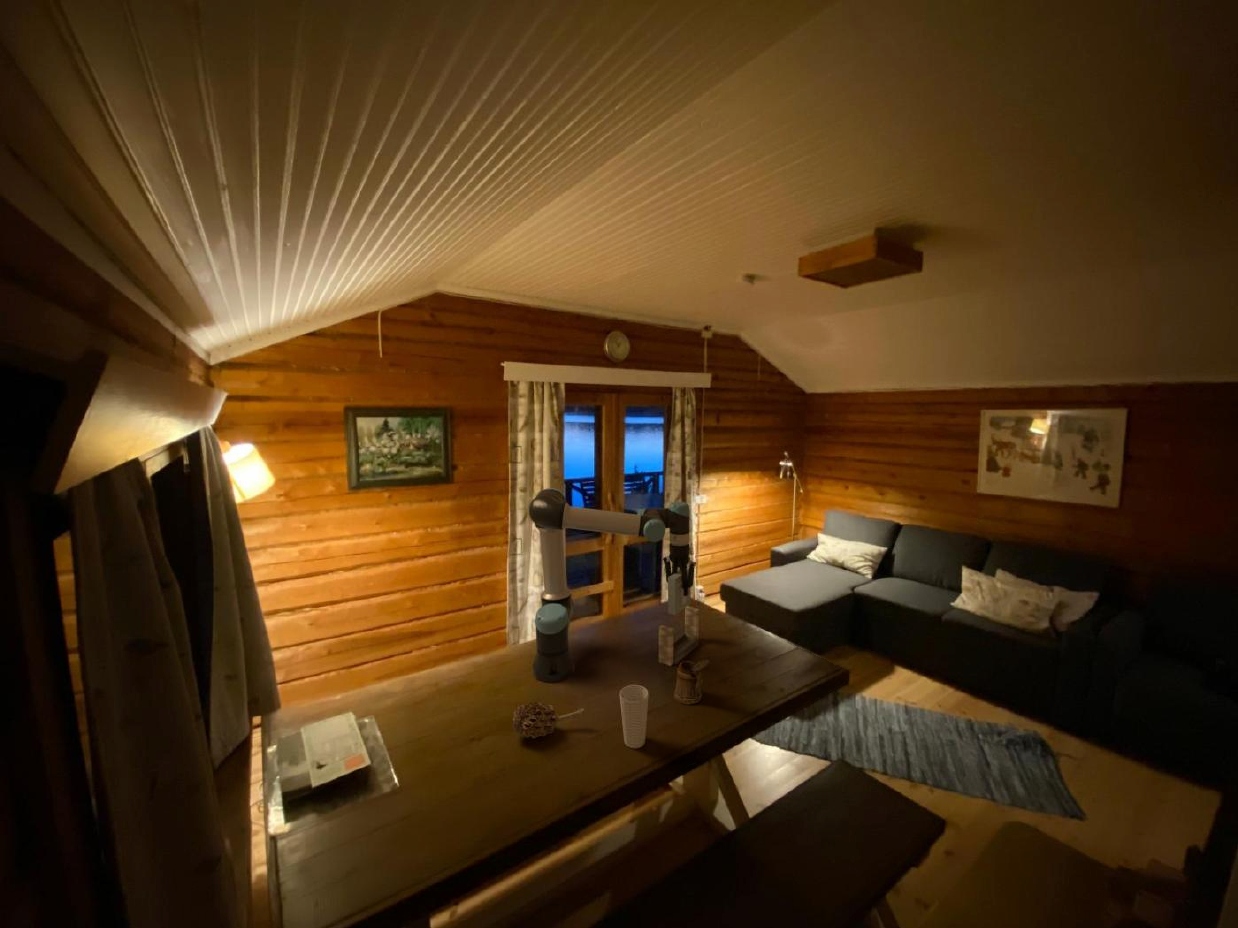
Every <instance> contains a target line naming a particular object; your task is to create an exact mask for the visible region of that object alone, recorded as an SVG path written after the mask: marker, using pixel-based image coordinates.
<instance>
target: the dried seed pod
mask: <svg viewBox="0 0 1238 928" xmlns="http://www.w3.org/2000/svg"><path fill="white" fill-rule="evenodd" d="M517 708H518V709H516V710H515V711H513V717H512V729H513V730H514V732H515V731H516V734H517V735H519V736H521V735H522V737H524V738H527V739H528V738H530V737H531V738H532V739H535V738H539V737H545V736H547V735H550V734H553V732H554V729H555V726H556V724H558V723H557V722H560V721H565V720H569V719H571V718H576V717H579V716H584V712H585V709H584V708H581V707H580V708H579V710H576V711H574V712H571V713H567V714H563V715H559V716H558V714H556V713H555V709H554V707H553V705H552V704H548V703H547V702H544V703H542V702H540V701H539V702H537V701H534V703H533V702H532V701H531V702H529V703H527V704H522V705H520V706H518V707H517Z"/></svg>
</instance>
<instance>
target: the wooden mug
mask: <svg viewBox="0 0 1238 928" xmlns="http://www.w3.org/2000/svg"><path fill="white" fill-rule="evenodd" d="M709 662H710V658H708V657H705V658H703V659H701V660H700V661H698V662H696V663H695V662H693V661H691V660H683V661H680V662H679V663H678V667H677V672H676V673H677V676H676V684H675V689H674V693H673V697H674V700H675V701H677V702H678V703H680V704H683V705H695V704H698V703H699V702H700V701H701V699H702V694H703V693H702V691H701V687H702V684H703V676H702V672H701V671H702V670H703V668H705V667H706V666H707V665H708V664H709Z"/></svg>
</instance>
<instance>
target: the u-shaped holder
mask: <svg viewBox="0 0 1238 928" xmlns="http://www.w3.org/2000/svg"><path fill="white" fill-rule="evenodd" d="M699 611H700V610H699V608H696V607H693V606H689V605H688V606H687V607H685V608H684V632H681V633H680V634H679V635H677V636H676V637H675V638H674V628H673V627H669V626H666V625H662V624H661V625H660V626H658V662H659V663H661V664H664V665H666V666H669V667H671V666H672V665H675V666H677V664H678V665H679V664H680V663H681V662H682V660H683V659H685V658H686V657H687V656H688V655H689V654H691V652H692V651H693V650H695V649H696V648H697V647H698V646H699V644H700V641H699V640H700V638H699V614H700V613H699Z"/></svg>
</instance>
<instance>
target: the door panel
mask: <svg viewBox="0 0 1238 928" xmlns="http://www.w3.org/2000/svg"><path fill="white" fill-rule="evenodd" d="M688 571H689V568H687V575H688ZM682 587H683V583H682V576H681V571H680V570H678V572H677V573H675V574H673V575H672V576H670V577H668V583H667V614H669V615H673V616H676V615H678V614H679V613H680V612H681V611H683V610H685V608H686V607H687V606H689V605H691V588H692V586H691V587H690V588H688V595H687V596H686V603H685V604H683V605H682V604H681V588H682Z"/></svg>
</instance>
